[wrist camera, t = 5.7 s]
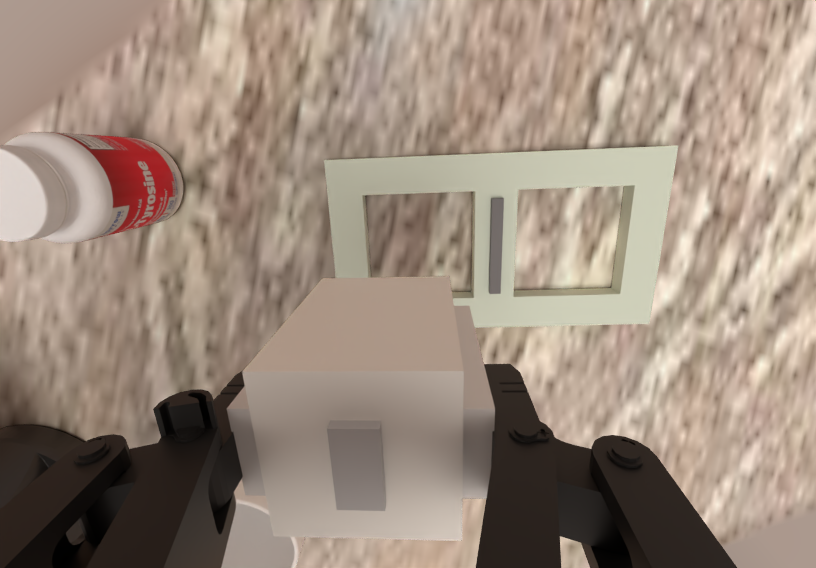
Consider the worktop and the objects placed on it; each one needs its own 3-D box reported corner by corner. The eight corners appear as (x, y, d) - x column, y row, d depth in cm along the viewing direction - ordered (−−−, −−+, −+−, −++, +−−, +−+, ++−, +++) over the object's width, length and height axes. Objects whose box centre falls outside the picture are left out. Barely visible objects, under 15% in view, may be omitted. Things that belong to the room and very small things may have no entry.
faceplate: (344, 323, 33) (339, 334, 31) (328, 159, 29) (321, 160, 27) (638, 316, 32) (653, 326, 30) (665, 146, 28) (683, 145, 26)
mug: (380, 445, 37) (365, 556, 27) (272, 488, 39) (220, 607, 29) (333, 371, 34) (297, 462, 24) (221, 421, 36) (145, 525, 26)
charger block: (334, 388, 17) (269, 547, 10) (322, 278, 16) (235, 379, 9) (449, 388, 17) (462, 552, 10) (449, 275, 15) (464, 378, 8)
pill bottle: (177, 234, 31) (54, 274, 21) (99, 204, 30) (-69, 230, 20) (194, 157, 29) (67, 158, 19) (112, 123, 29) (-67, 106, 18)
